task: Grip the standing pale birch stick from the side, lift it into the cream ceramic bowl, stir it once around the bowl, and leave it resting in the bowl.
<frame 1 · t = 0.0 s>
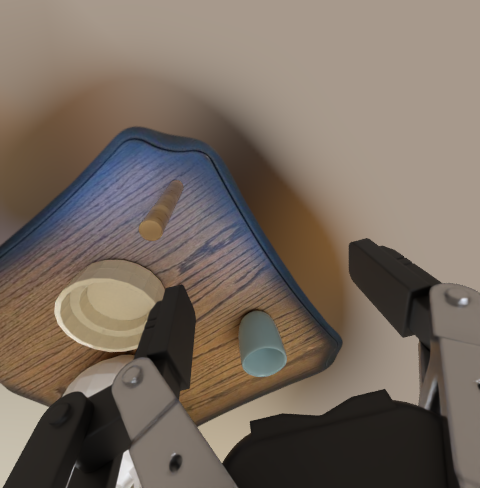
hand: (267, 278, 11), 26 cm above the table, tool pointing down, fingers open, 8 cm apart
bowl: (123, 294, 42), on the table
stick: (176, 186, 34), on the table
cup: (255, 318, 48), on the table
white vase: (128, 366, 51), on the table
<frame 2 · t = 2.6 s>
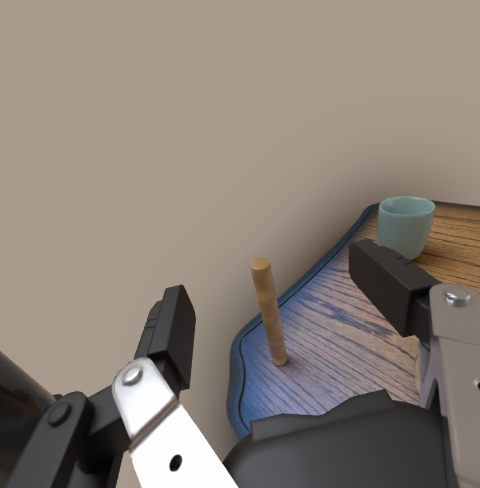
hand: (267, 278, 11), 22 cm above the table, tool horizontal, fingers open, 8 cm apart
stick: (279, 359, 31), on the table
cup: (398, 255, 43), on the table
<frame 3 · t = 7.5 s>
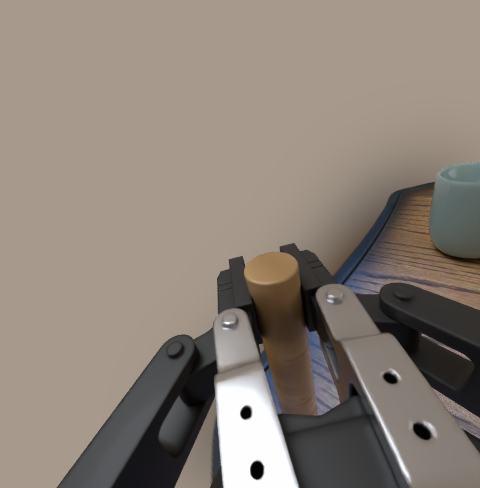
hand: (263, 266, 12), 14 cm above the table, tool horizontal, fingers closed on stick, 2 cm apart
stick: (307, 453, 16), on the table, touching gripper
cup: (461, 250, 30), on the table
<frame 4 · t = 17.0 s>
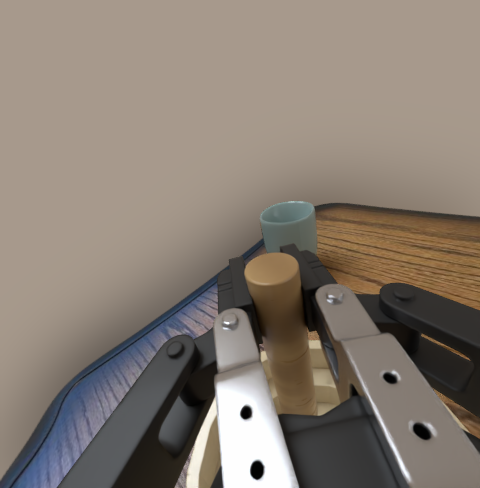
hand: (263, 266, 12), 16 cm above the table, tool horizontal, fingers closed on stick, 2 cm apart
stick: (308, 453, 16), point 2 cm above the table, touching gripper
cup: (294, 268, 38), on the table
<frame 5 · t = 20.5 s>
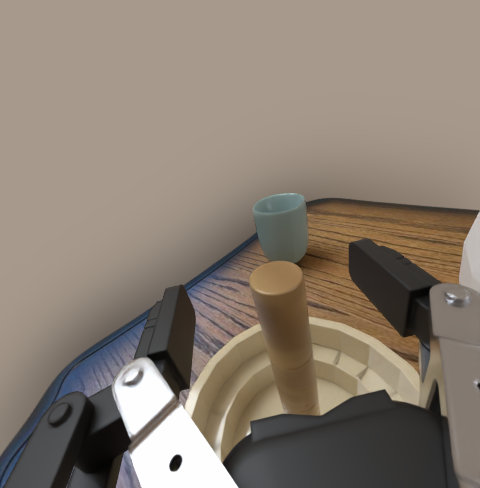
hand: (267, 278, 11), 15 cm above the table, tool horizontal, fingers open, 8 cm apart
bowl: (310, 460, 16), on the table
stick: (311, 457, 16), point 1 cm above the table, touching bowl
cup: (287, 259, 39), on the table
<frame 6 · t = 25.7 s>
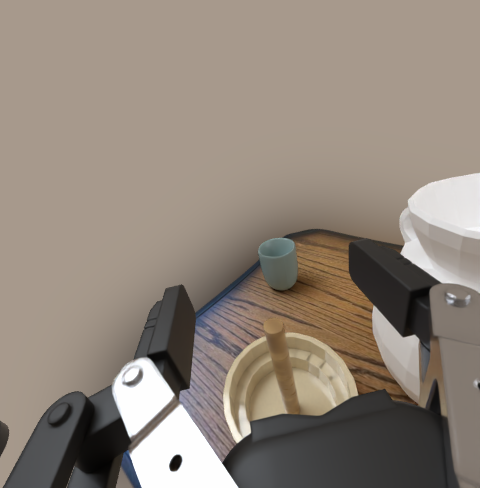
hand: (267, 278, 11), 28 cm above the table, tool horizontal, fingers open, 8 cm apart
bowl: (292, 412, 30), on the table
stick: (292, 409, 30), point 1 cm above the table, touching bowl
cup: (282, 284, 53), on the table
white vase: (452, 383, 29), on the table
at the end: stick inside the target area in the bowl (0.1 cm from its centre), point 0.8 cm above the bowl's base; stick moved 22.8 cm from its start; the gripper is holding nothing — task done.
